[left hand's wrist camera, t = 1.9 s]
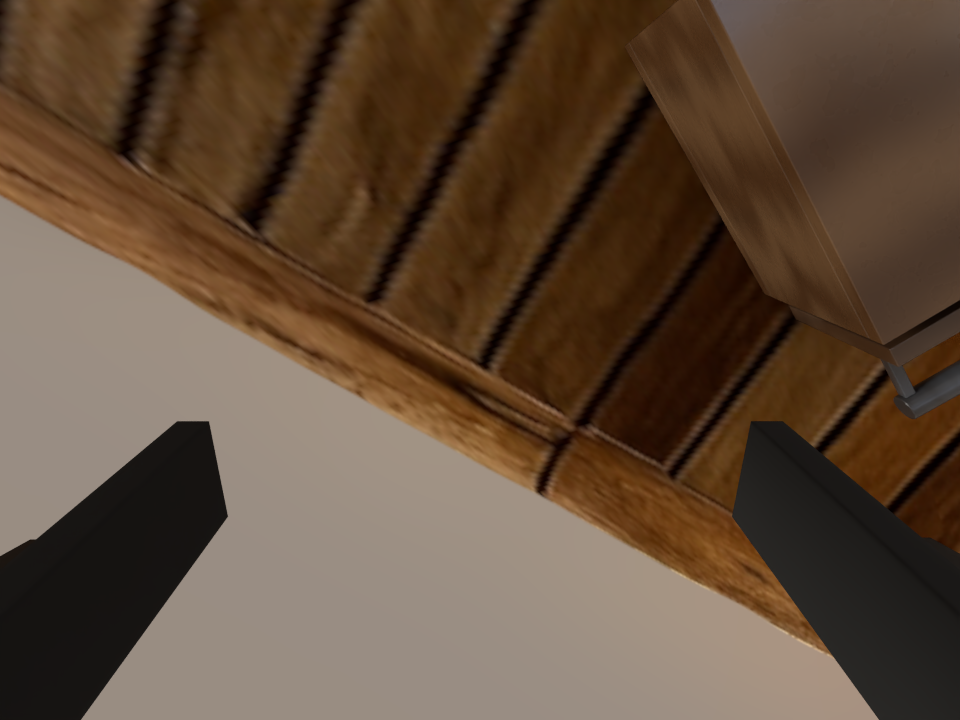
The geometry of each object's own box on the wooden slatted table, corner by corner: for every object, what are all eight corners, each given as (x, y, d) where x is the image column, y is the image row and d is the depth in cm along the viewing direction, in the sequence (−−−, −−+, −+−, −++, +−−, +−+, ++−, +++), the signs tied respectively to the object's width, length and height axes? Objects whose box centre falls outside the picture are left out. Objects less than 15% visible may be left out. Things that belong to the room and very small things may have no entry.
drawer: (961, 308, 34) (1118, 353, 26) (831, 384, 36) (939, 449, 28) (816, -19, 28) (962, -101, 20) (669, 92, 30) (745, 62, 21)
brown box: (912, 199, 33) (1110, 211, 23) (764, 294, 35) (884, 345, 25) (788, -84, 28) (968, -234, 18) (623, 46, 30) (699, -19, 20)
